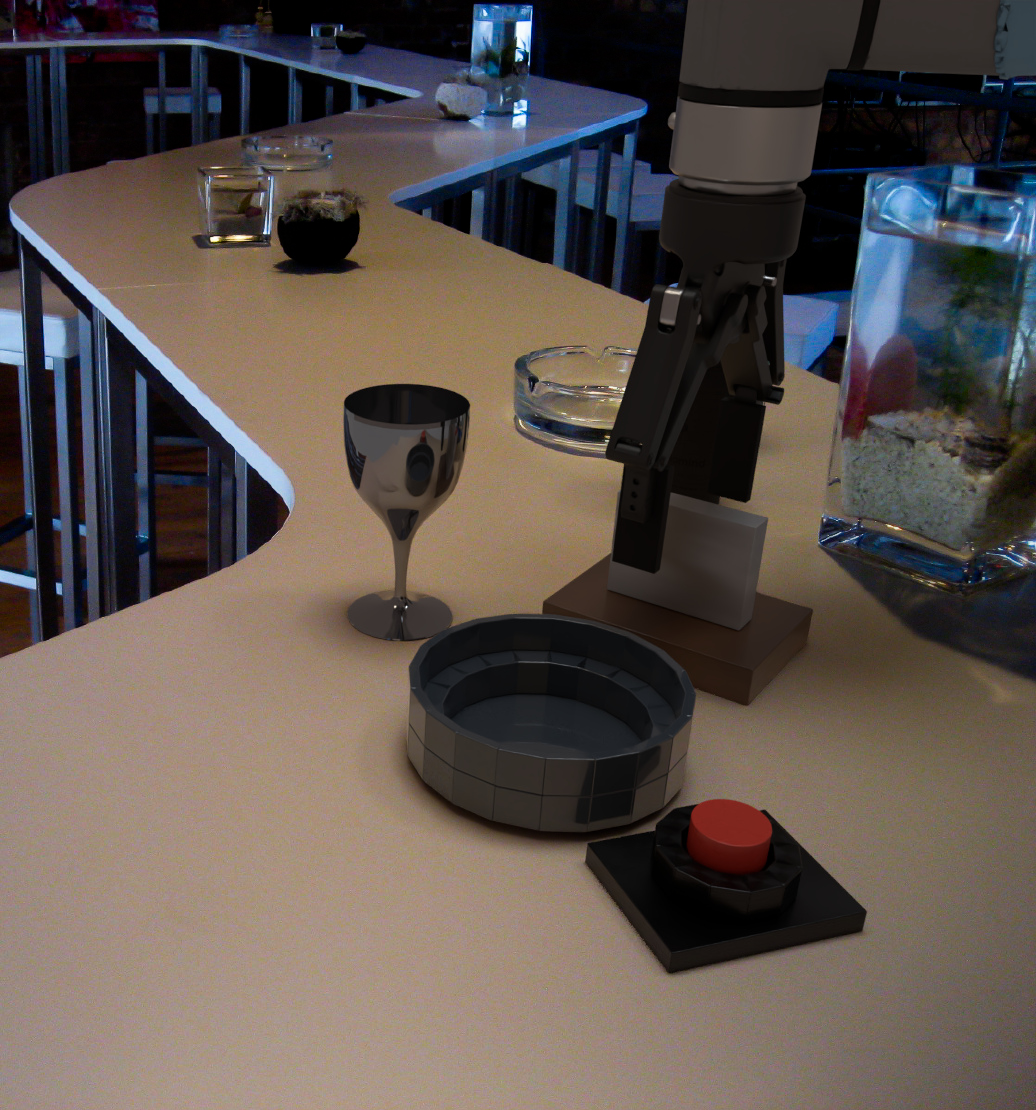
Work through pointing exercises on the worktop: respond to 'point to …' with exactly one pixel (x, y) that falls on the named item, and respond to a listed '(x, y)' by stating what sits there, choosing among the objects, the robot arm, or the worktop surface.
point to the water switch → (719, 896)
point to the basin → (549, 721)
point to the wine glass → (404, 489)
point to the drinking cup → (699, 438)
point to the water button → (729, 836)
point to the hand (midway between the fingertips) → (684, 529)
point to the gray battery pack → (701, 563)
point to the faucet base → (695, 633)
